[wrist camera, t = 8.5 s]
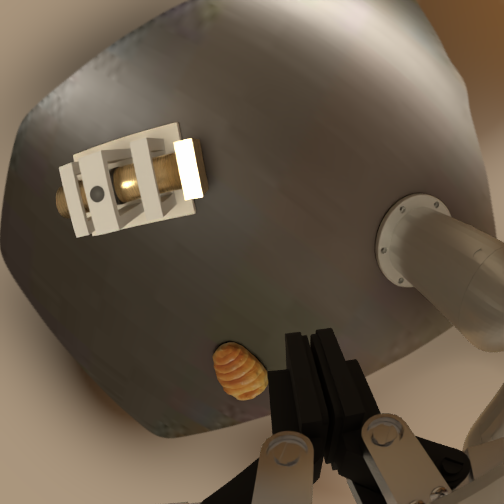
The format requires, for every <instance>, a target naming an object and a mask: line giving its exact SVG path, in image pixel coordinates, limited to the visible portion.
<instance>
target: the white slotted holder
mask: <svg viewBox="0 0 504 504" xmlns="http://www.w3.org/2000/svg"><path fill="white" fill-rule="evenodd" d="M181 140H182V139H181V133H180V128H179V123H177V122H176V123H172V124H168V125H164V126H160V127H156V128H153V129H149V130H146V131H142V132H139V133H136V134H132V135H129V136H126V137H123V138H120V139H116V140H113V141H110V142H108V143H105V144H102V145H99V146H96V147H93V148H91V149H88V150H85V151H83V152H80V153H77V154H75V155H73V158H74V162H72V163H69V164H67V165H64V166H62V167H59V170H60V175H61V180H62V184H63V189H64V193H65V197H66V201H67V205H68V209H69V213H70V216H71V220H72V224H73V227H74V230H75V234H76V237H81V236H85V235H89V234H91V233H92V235H93V236H95V235H101V234H105V233H110V232H114V231H118V230H121V229H125V228H129V227H134V226H138V225H143V224H147V223H152V222H157V221H161V220H166V219H171V218H176V217H181V216H186V215H191V214H195V213H196V208H195V204H194V199H190V200H185V197H184V192H183V189H180V190H175V191H171V192H166V193H162V194H159V189H158V185H157V180H156V175H155V171H154V166H153V161H152V158H154V157H158V156H162V155H166V154H170V153H174V152H175V148H174V143H173V142H177V141H181ZM132 163H134V168H135V172H136V177H137V182H138V186H139V191H140V195H141V199H137V200H133V201H129V202H127V203H125V204H121V205H117V204H116V200H115V196H114V191H113V187H112V183H111V178H110V174H109V170H110V169H112V168H115V167H121V166H125V165H128V164H132ZM77 177H78V180H81V179H82V181H83V185H84V189H85V193H86V198H87V202H88V206H89V209H90V212H88V213H86V212H85V209H84V205H83V201H82V197H81V193H80V188H79V184H78V180H77ZM86 214H87V216H86Z"/></svg>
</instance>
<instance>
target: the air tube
mask: <svg viewBox="0 0 504 504" xmlns="http://www.w3.org/2000/svg"><path fill="white" fill-rule="evenodd" d="M173 143H174V148H175V152H174V153H170V154H166V155H162V156H158V157H154V158H152V161H153V166H154V171H155V175H156V180H157V185H158V189H159V194H162V193H166V192H171V191H175V190H180V189H183V192H184V197H185V200H190V199H195V198H200V197H203V196H204V195H205V193H206V192H207V191H208V189H209V186H208V181H207V176H206V171H205V166H204V161H203V155H202V150H201V145H200V140H199V139H194V138H190V139H186V140H181V141H177V142H173ZM109 174H110V178H111V183H112V187H113V191H114V196H115V200H116V204H117V205H121V204H125V203H127V202H129V201H133V200H137V199H141V195H140V191H139V186H138V182H137V177H136V172H135V168H134V163H132V164H128V165H125V166H121V167H115V168H112V169H110V170H109ZM78 184H79V188H80V193H81V197H82V201H83V205H84V209H85V212H86V213H88V212H90V209H89V206H88V202H87V198H86V193H85V189H84V185H83V181H82V179H81V180H78ZM56 204H57V208H58V211H59V212H60V214H61V215H62V216H63V217H64V218H71V216H70V213H69V209H68V205H67V201H66V197H65V193H64V189H63V186H62V187H60V188H59V189H58V191H57V194H56Z"/></svg>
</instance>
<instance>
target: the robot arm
mask: <svg viewBox="0 0 504 504" xmlns="http://www.w3.org/2000/svg"><path fill="white" fill-rule="evenodd" d="M375 253H376V260H377V263H378V266H379V268H380V270H381V271H382V273H383V274H384V275H385V277H386V278H387V279H388V280H390V281H391V282H392V283H393V284H395V285H397V286H401V287H415V288H416V289H417V290H418V291H419V292H420V293H421V294H422V295H423V296H424V297H425V298H426V299H427V300H428V301H430V302H431V303H432V304H433V305H434V306H435V307H436V308H437V309H438V310H439V311H440V312H441V313H442V314H443V315H444V316H445V317H446V318H447V319H448V320H449V321H450V322H451V323H452V324H453V325H454V326H455V327H456V328H457V329H458V330H459V331H460V332H461V334H462V335H463V336H464V337H465V338H466V339H467V340H468V341H469V342H470V343H471V344H472V345H474V346H475V347H476V348H478V349H480V350H482V351H485V352H501V351H504V243H503V242H502V241H500V240H498V239H496V238H494V237H492V236H490V235H488V234H486V233H484V232H482V231H480V230H478V229H476V228H474V227H473V226H472V225H471V224H469V225H467V224H465V223H463V222H461V221H459V220H457V219H454V218H452V217H451V215H450V212H449V210H448V209H447V207H446V206H445V204H444V203H442V202H441V201H440V200H439V199H437V198H435V197H434V196H431V195H428V194H422V193H418V194H412V195H409V196H406V197H404V198H403V199H401V200H399V201H398V202H397V203H396V204H395V205H393V206H392V207H391V208H390V210H389V211H388V212H387V214H386V215H385V217H384V219H383V220H382V222H381V224H380V227H379V230H378V233H377V238H376V245H375ZM285 344H286V366H287V369H286V370H277V371H268V382H269V395H270V408H271V420H272V433H273V435H272V436H270V437H269V438H267V439H266V440H265V442H264V443H263V444H262V447H261V450H260V456H259V458H258V459H257V460H255V461H254V462H253V463H252V464H251V465H250V466H248V467H247V468H246V469H245V470H243V471H242V472H241V473H240V474H238V475H237V476H236V477H235V478H233V479H232V480H231V481H229V482H228V483H227V484H225V485H224V486H223V487H221V488H220V489H219V490H217V491H216V492H215V493H213V494H212V495H210V496H209V497H208V498H206V499H205V500H203V501H202V502H200V503H191V504H312V495H313V484H314V483H315V482H316V481H317V480H318V478H319V477H320V472H321V467H322V462H323V457H324V459H325V463H326V464H329V463H331V466H332V470H337V469H338V474H339V475H341V476H344V477H345V478H346V480H347V483H348V485H349V488H350V490H351V492H352V494H353V497H354V499H355V501H356V503H357V504H504V383H503V385H502V386H501V388H500V389H499V391H498V392H497V394H496V395H495V396H494V398H493V399H492V400H491V402H490V403H489V404H488V406H487V407H486V408H485V410H484V411H483V412H482V414H481V415H480V416H479V418H478V419H477V421H476V422H475V423H474V424H473V426H472V428H471V429H470V431H469V433H468V435H467V437H466V440H465V442H464V446H463V451H460V450H458V449H455V448H451V447H448V446H445V445H442V444H438V443H435V442H432V441H429V440H426V439H423V438H420V437H417V436H415V435H414V434H413V432H412V431H411V429H410V428H409V426H408V425H407V423H406V422H405V421H404V420H403V419H402V418H400V417H399V416H397V415H393V414H389V413H382V414H381V413H380V411H379V409H378V406H377V404H376V401H375V399H374V397H373V394H372V392H371V390H370V388H369V386H368V383H367V381H366V378H365V376H364V374H363V372H362V369H361V367H360V365H359V363H358V361H357V360H356V359H354V360H348V361H345V359H344V356H343V354H342V351H341V349H340V347H339V344H338V342H337V339H336V337H335V335H334V332H333V330H332V328H327V329H319V330H316V334H312V335H311V339H310V345H309V341H308V338H307V335H304V336H302V335H301V332H296V333H287V334H285ZM170 504H189V503H188V502H182V503H170Z"/></svg>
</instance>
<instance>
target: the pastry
mask: <svg viewBox="0 0 504 504" xmlns="http://www.w3.org/2000/svg"><path fill="white" fill-rule="evenodd" d="M213 361H214V368H215V371H216V375H217V379H218V381H219V382H220V383H221V385H222V386H223V389H224V391H225V392H226V393H228V394H229V395H233V396H234V397H236V398H237V399H238V400H248V399H252V398H254V397H256V396H257V395H259V394H261V393H262V392H263V391H264V389H265V388H266V386H267V385H268V378H267V371H266V369H265V368H264V366H263V365H262V363H260V362H259V361H258V359H257V358H256V357H255V356H254V355H252V354H251V353H250V352H249V351H248V350H247V349H246V348H244V347H243V346H242V345H239V344H237V343H235V342H228V343H225V344H222V345H221V346H219V347H218V349H217V350H216V351H215V353H214V354H213Z"/></svg>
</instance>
